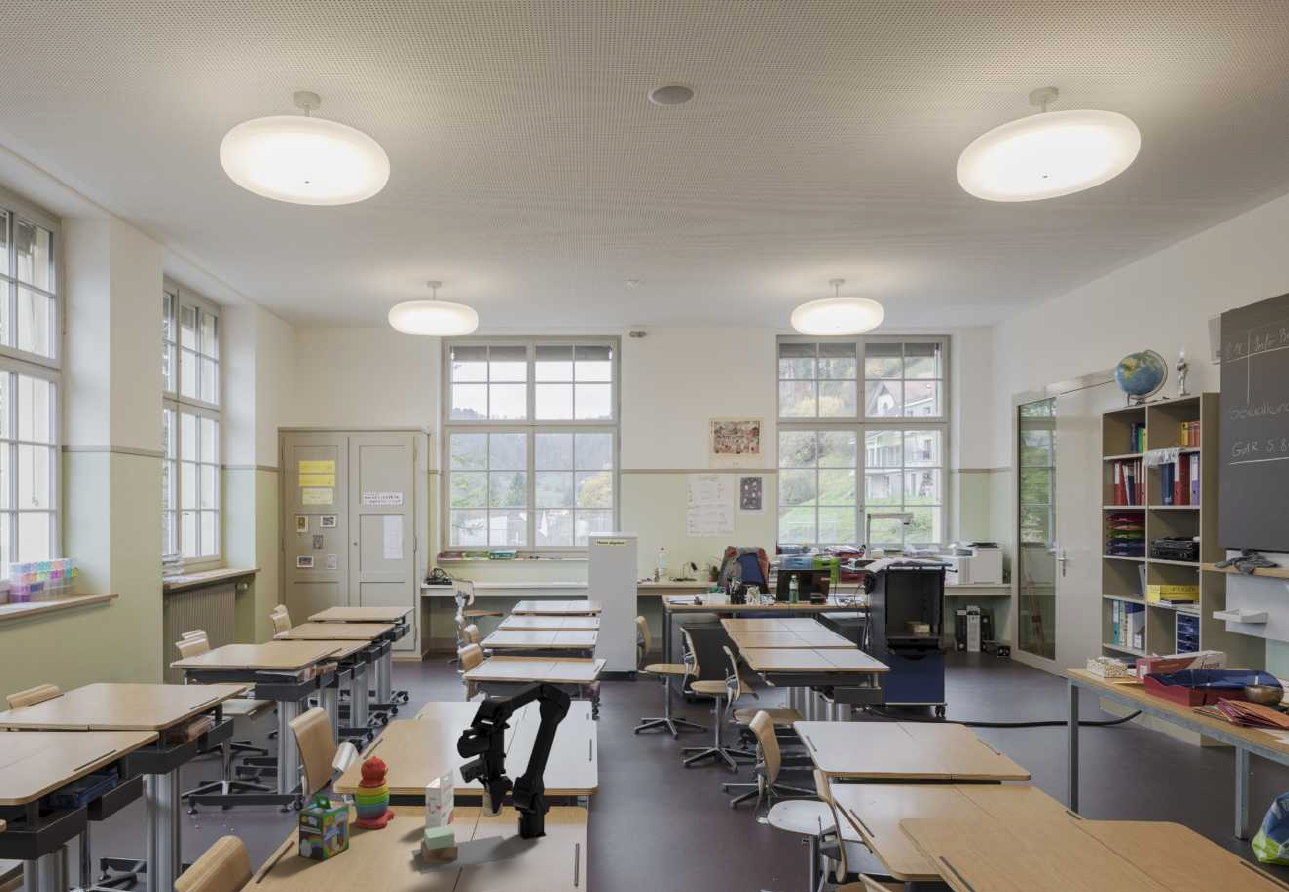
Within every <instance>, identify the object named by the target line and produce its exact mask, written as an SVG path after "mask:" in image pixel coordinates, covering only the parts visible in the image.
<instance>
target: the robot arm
mask: <svg viewBox="0 0 1289 892" xmlns="http://www.w3.org/2000/svg"><path fill="white" fill-rule="evenodd" d="M535 701H537V702H538V703H539V708H538V710H539V715H540V723H539V726H538V729H537V730H538V731H537V733H536V736H535V740H534V743H533V745H532V749H531V754H530V757H529V758H528V759H529V760H528V763H527V766H526V770H525V772H524V773H523V774H522V775H521V776H516V777H515V779H514V781H513V780H511V779H510V777H508V776H507V775H506V774H507V769H506V768H505V759H507V753H506V752H505V730H508V729H511V724H509V723H508V722H507V721H508V720H510V718H512V716H513V714H514V712H516V711H518V710H519V709H520V708H523V707H525V706H527V705H528V704H530V703H532V702H535ZM571 704H572V699H571V697H570V695H569V693H568V692H566V691H563V690H561V689H558V687H555V686H553V685H552V684H551V683H550V682H548V681H546V680H541V679H540V680H539V679H535V680H532V681H531V682H530V683H527V684H526V685H524V686H522V687H520V688H518V689H515V690H514V691H511V692H510V693H508V694H506V695H501V696H492V697H488V698H485V699H483V700H482V701H481V702H480V705H479V707H478V708H477V711H476V713H475V716H474V718H473V719H472V721H471V723H470V728H467V729H463V730H462V735H461V736H460V737H459V738H458V740H457V742H456V751H457V752H458V755H459V756H460V757H461V758H462V759H465V760H466V759H470V758H473V757H475V756H479V757H478V758H476V759H474V760H471V761H469V762H467V763H465V764H463V765H461V766H460V767H459V771H460V775H461V778H462V780H463V782H464V783H465V784H470V783H471V782H472V781H474V780H475V779H477V781H478V782H479V783H480V784H481V785H482V786H483V790H484V792H487V793H489V794H490V798H491V805H492V812H493V814H497V813H498V810H499V808H500V806H501V804H502V805H503V801H504V799H505V797H506V795H507V793H508V792H511V797H510V798H511V800H512V801H511V802H512V803H513V804H512V805H513V808H514V810H515V812H519V816H518V817H517V833H518V835H519V836H520V837H521V838H522V840H530V839H535V838H536V839H537V838H542V837H546V836H547V833H546V832H545V821H546V820H545V816H547V814H548V813H549V812H550V808H551V803H550V802H549V801H548V800H547V798H546V797H545V796H544V795H545V791H546V787H545V782H544V773H545V770H546V767H547V764H548V760H549V756H550V753H551V750H552V746H553V744H554V739H555V737H556V733H557V729H558V726H559V724H560V723H561V722H562V721H564V719H565V718H566V717H567V715H568V713H569V710H570V707H571Z"/></svg>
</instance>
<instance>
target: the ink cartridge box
mask: <svg viewBox="0 0 1289 892" xmlns="http://www.w3.org/2000/svg"><path fill="white" fill-rule="evenodd" d="M447 776H448V777H447ZM454 783H455V782H454V770H453V768H450V769H449V770H447V771H446V772H444V773H443V774H442V775H440V777H437V778H436V779H435V780H433V781H432V782H430V783H429V784H428V785H427V786H425V829H428V828H434V827H441V826H447V825H449V824H450V823H451V822H452V821H453V820H454V786H455V784H454Z"/></svg>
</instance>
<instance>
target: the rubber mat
mask: <svg viewBox="0 0 1289 892" xmlns="http://www.w3.org/2000/svg"><path fill="white" fill-rule="evenodd" d="M455 843H456V844H457V846H458V859H454V860H448V861H442V862H437V863H431V864H425V862H424V860H423V857H422V855H421V848H420V849H413V850H411V853H412V855H413V856H412V857H413V858H414V861H415V863H416V866H417V868H418V871H419V873H420V875H424V874H429V873H434V872H435V873H436V872H439V871H440V872H441V871H446V870H450V869H451V870H452V869H458V868H462V867H466V866H467V867H469V866H473V865H474V866H475V865H479V864H485V863H490V862H496V861H501V860H506V859H512V858H517V856H516V854H515V852H513V850H512V848H511V847H510V845H509V844H508V842H507V841H506V840H505V838H504V837H503V835H502V834H501V835H496V836H490V837H486V838H485V837H484V838H480V839H472V840H466V841H461V842H455Z"/></svg>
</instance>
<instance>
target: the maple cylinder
mask: <svg viewBox="0 0 1289 892" xmlns="http://www.w3.org/2000/svg"><path fill="white" fill-rule="evenodd" d="M502 813H503V803H502V804H501V806H500V808H499V810H498V813H497V814H493V812H492V805H491V798H490V794H489V793H487V792H485V791H484V792H483V793H482V816H483V817H487V818H494V817H499V816H501V815H502Z"/></svg>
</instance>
